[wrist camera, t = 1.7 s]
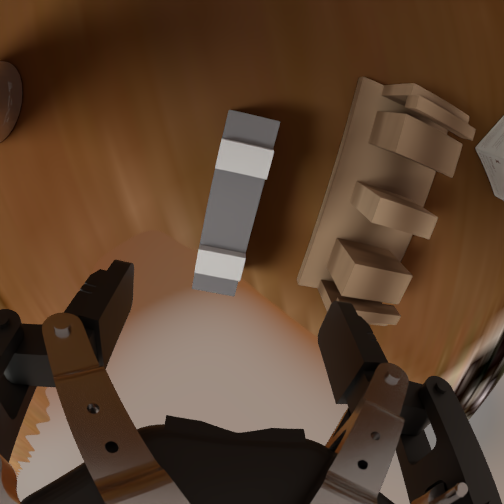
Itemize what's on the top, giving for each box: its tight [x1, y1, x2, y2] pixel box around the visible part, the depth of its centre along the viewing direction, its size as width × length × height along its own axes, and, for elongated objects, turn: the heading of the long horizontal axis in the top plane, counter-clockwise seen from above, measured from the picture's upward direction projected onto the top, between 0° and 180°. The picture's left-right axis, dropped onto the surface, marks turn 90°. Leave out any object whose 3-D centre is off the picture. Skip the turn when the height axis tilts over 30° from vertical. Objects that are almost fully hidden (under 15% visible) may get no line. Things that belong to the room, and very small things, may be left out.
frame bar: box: [192, 110, 280, 296], centre depth 24 cm, size 4×14×6 cm, turn 166°
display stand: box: [297, 77, 476, 326], centre depth 24 cm, size 10×20×7 cm, turn 166°
